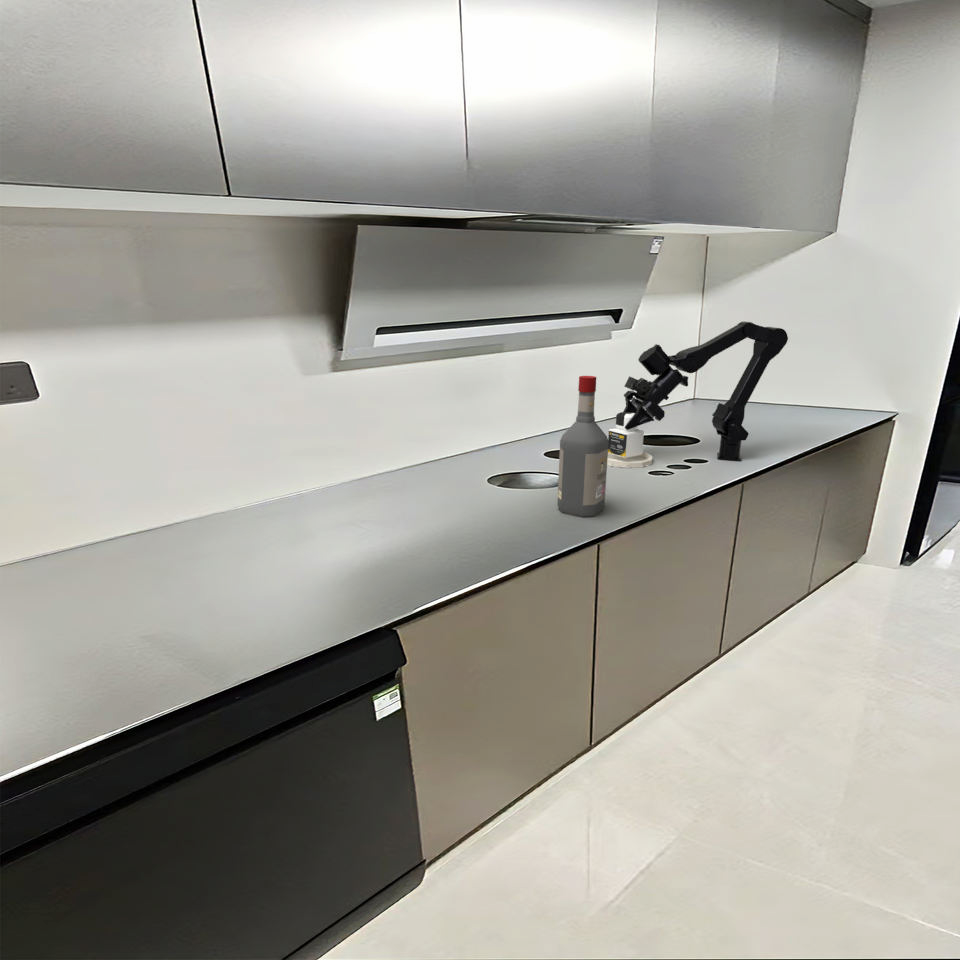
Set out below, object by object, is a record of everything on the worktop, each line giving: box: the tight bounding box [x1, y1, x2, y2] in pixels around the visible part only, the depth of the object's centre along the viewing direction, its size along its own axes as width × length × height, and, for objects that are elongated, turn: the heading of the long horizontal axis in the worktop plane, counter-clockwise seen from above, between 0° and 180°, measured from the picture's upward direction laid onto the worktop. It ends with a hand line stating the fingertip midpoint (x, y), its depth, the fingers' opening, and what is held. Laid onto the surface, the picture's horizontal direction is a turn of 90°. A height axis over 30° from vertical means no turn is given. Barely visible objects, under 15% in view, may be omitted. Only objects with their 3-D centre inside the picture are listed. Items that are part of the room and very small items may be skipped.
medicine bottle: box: [607, 411, 645, 458], centre depth 189 cm, size 7×7×12 cm
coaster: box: [607, 451, 654, 467], centre depth 191 cm, size 16×16×2 cm
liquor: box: [557, 375, 609, 518], centre depth 146 cm, size 9×9×30 cm
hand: (621, 426), depth 188 cm, fingers closed on medicine bottle, 6 cm apart
